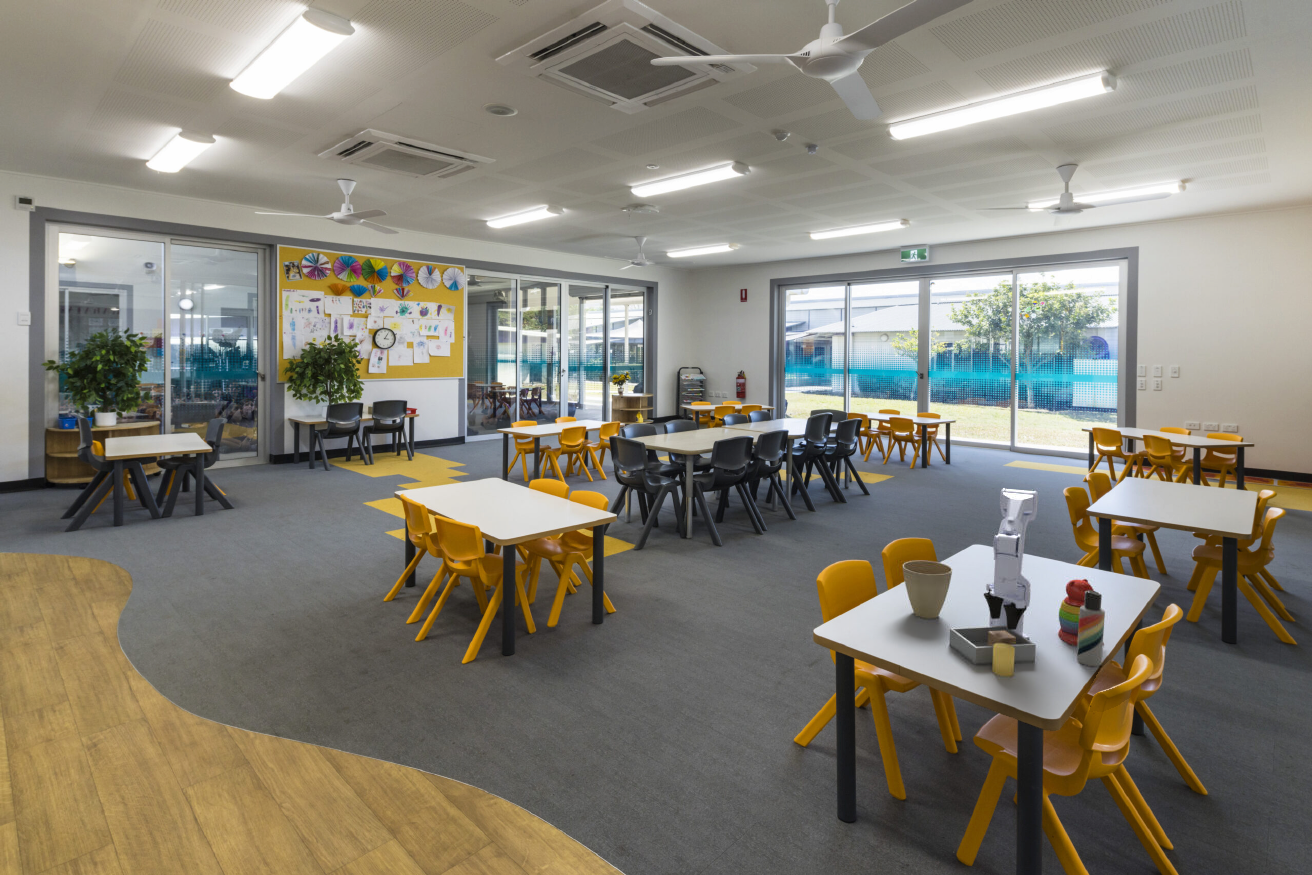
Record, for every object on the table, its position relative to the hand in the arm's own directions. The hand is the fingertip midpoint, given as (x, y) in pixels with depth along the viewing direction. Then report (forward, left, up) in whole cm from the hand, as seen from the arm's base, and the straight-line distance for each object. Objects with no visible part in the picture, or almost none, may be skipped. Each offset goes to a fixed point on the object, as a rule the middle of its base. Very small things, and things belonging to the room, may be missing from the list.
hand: (1003, 623), depth 187 cm
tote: (0, -3, -9) cm, 9 cm away
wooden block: (0, 0, -8) cm, 8 cm away
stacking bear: (-7, +28, -9) cm, 30 cm away
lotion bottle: (+8, +20, -9) cm, 23 cm away
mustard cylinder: (+11, -7, -9) cm, 15 cm away
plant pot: (-30, -7, -9) cm, 32 cm away
